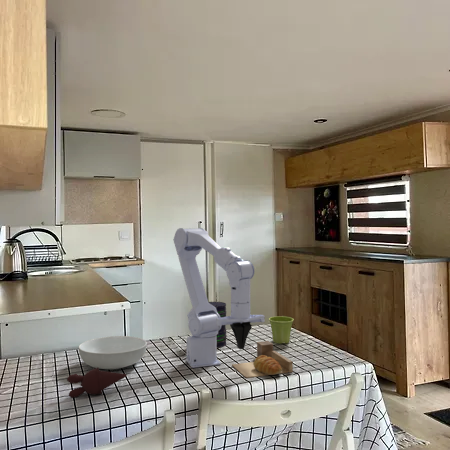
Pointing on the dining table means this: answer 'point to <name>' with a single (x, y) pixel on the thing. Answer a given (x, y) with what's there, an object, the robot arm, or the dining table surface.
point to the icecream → (93, 381)
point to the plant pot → (281, 328)
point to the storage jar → (222, 332)
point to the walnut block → (264, 348)
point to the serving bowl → (112, 351)
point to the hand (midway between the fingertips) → (240, 348)
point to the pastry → (267, 365)
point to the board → (250, 371)
